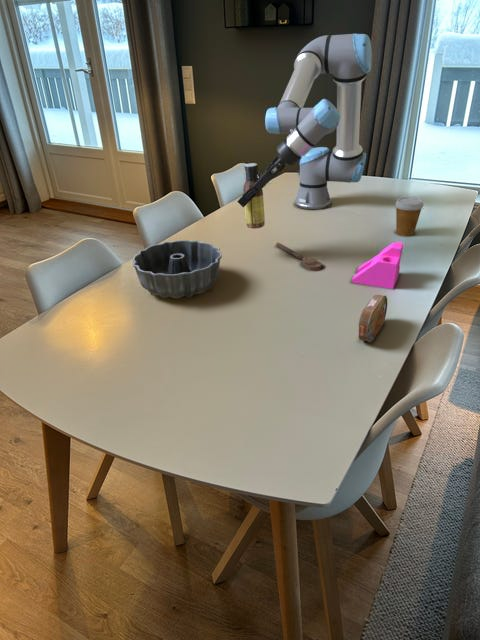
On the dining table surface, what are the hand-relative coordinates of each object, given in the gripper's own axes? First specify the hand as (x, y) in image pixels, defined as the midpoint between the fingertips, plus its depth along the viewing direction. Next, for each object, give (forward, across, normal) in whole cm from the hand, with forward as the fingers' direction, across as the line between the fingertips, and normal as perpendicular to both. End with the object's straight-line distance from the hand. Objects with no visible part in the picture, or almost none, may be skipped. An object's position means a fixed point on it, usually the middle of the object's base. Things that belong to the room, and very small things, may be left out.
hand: (243, 200), depth 151 cm
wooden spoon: (+1, 0, +26) cm, 26 cm away
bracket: (-17, +12, +44) cm, 49 cm away
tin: (-16, +42, +43) cm, 62 cm away
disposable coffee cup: (-24, -28, +52) cm, 63 cm away
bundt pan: (+24, +25, +3) cm, 35 cm away
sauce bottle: (+4, 0, +9) cm, 9 cm away
